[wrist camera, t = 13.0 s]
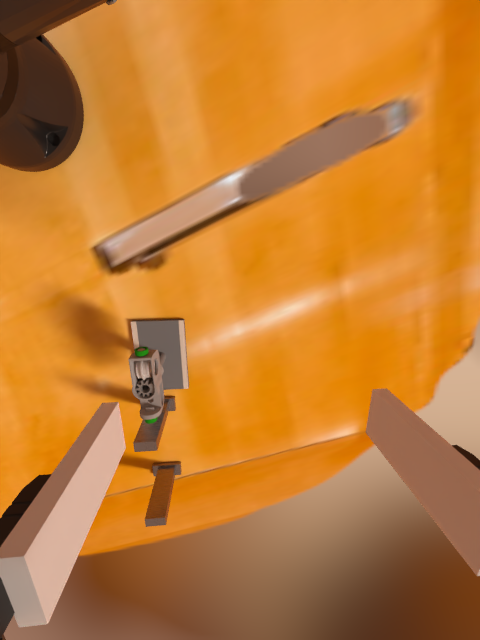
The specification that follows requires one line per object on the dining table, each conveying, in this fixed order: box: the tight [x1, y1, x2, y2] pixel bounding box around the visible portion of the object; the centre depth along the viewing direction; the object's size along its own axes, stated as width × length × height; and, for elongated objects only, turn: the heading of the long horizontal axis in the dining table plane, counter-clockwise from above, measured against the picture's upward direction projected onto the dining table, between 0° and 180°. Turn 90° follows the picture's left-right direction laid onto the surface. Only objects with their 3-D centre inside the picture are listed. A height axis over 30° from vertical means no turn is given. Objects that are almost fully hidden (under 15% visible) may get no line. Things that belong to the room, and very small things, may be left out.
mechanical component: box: [129, 347, 166, 424], centre depth 37 cm, size 3×10×10 cm, turn 1°
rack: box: [134, 396, 181, 527], centre depth 43 cm, size 16×5×10 cm, turn 1°
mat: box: [131, 319, 189, 390], centre depth 42 cm, size 12×8×1 cm, turn 1°
